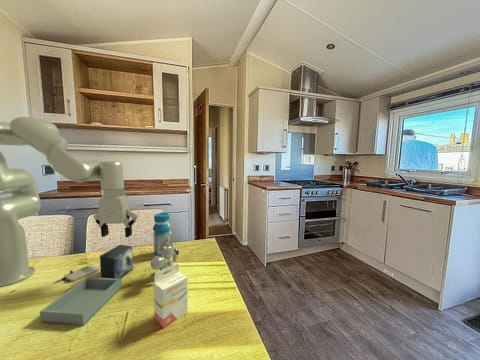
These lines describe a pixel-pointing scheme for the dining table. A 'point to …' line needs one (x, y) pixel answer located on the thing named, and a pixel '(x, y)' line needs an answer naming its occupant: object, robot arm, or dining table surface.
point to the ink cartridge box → (170, 295)
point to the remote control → (79, 274)
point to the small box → (117, 262)
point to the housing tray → (81, 301)
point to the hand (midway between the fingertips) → (117, 235)
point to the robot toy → (165, 256)
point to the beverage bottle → (161, 231)
